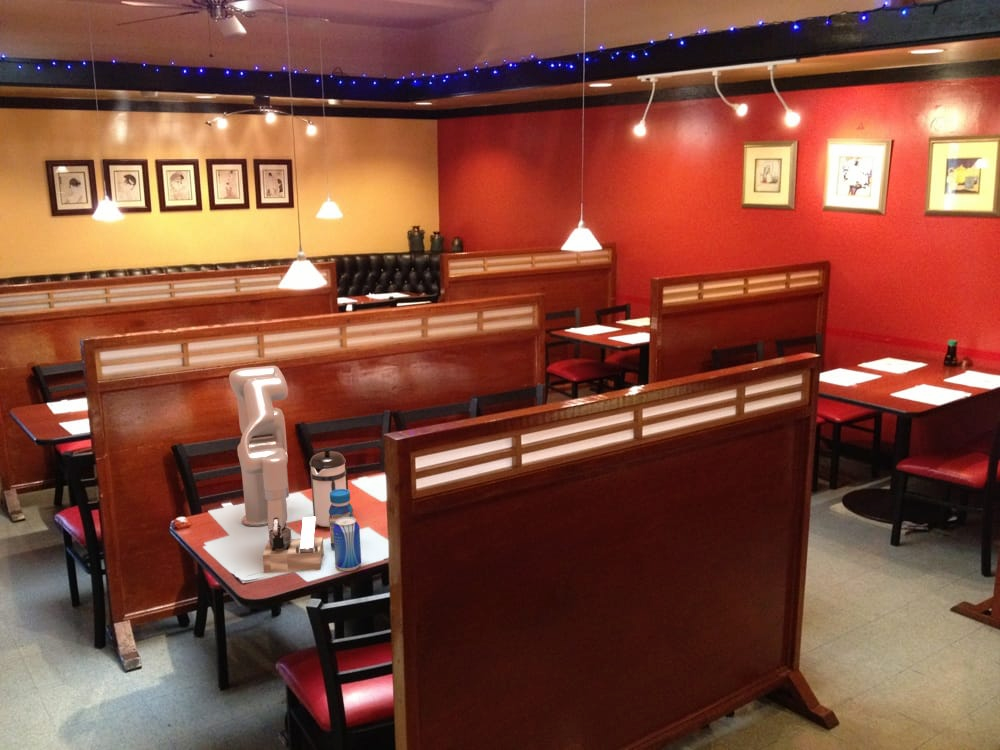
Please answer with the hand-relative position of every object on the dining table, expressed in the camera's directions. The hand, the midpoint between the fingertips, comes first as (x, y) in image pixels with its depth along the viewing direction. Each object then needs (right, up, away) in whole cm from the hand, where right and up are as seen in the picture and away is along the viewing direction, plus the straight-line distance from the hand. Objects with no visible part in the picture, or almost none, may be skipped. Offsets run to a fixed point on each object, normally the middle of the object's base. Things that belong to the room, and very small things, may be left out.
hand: (280, 543), depth 277 cm
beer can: (+22, -8, -1) cm, 24 cm away
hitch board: (+4, -7, +2) cm, 8 cm away
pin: (0, -5, +1) cm, 5 cm away
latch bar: (+9, +2, +1) cm, 9 cm away
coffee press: (+10, 0, +34) cm, 36 cm away
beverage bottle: (+18, -4, +14) cm, 23 cm away
